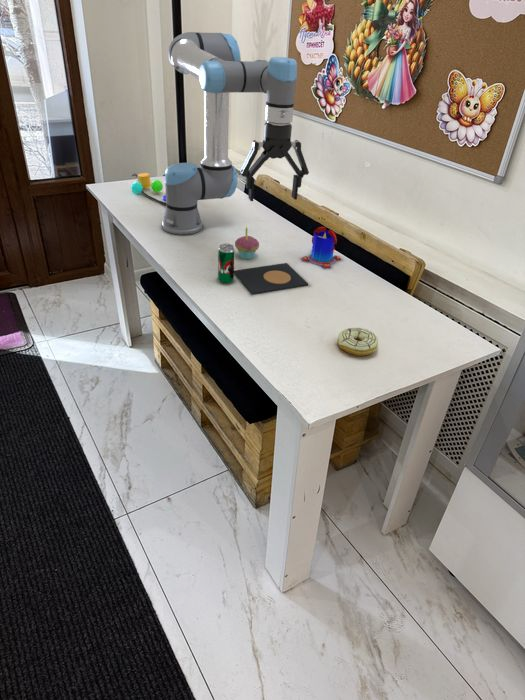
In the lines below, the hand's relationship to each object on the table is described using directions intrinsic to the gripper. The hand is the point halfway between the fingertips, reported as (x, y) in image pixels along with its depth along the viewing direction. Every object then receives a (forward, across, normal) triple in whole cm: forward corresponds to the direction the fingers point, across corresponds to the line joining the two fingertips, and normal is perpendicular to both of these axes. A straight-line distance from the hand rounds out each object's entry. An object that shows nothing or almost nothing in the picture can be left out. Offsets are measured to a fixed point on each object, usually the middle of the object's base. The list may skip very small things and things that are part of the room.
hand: (272, 198), depth 151 cm
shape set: (+27, -20, +82) cm, 89 cm away
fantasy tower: (+27, +24, +11) cm, 37 cm away
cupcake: (+27, -2, +17) cm, 32 cm away
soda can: (+27, -14, 0) cm, 30 cm away
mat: (+27, +1, 0) cm, 27 cm away
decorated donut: (+27, +13, -42) cm, 52 cm away
